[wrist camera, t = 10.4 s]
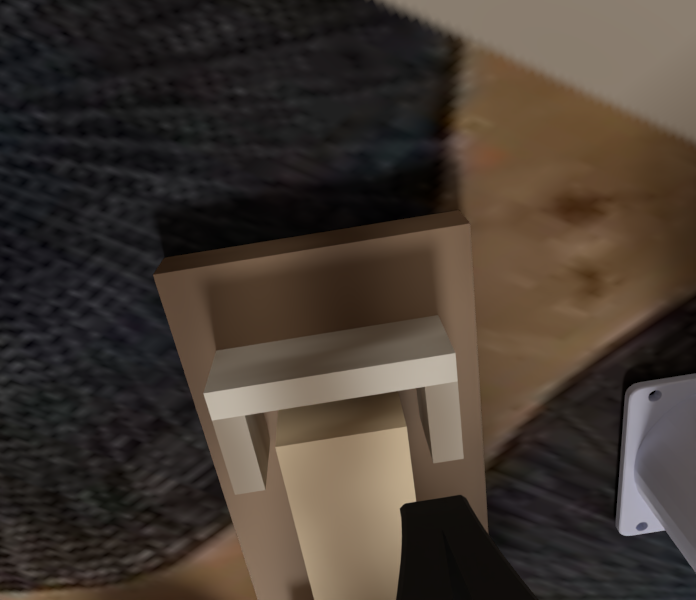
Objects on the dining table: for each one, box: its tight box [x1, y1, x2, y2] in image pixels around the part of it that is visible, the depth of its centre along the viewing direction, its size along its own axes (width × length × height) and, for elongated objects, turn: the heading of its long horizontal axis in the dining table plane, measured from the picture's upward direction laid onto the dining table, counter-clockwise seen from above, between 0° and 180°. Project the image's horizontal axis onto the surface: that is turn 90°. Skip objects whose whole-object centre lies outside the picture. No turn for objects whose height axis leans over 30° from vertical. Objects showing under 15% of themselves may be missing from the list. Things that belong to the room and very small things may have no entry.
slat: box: [275, 391, 416, 600], centre depth 21 cm, size 4×14×3 cm, turn 8°
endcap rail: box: [153, 210, 488, 600], centre depth 22 cm, size 10×24×4 cm, turn 9°
